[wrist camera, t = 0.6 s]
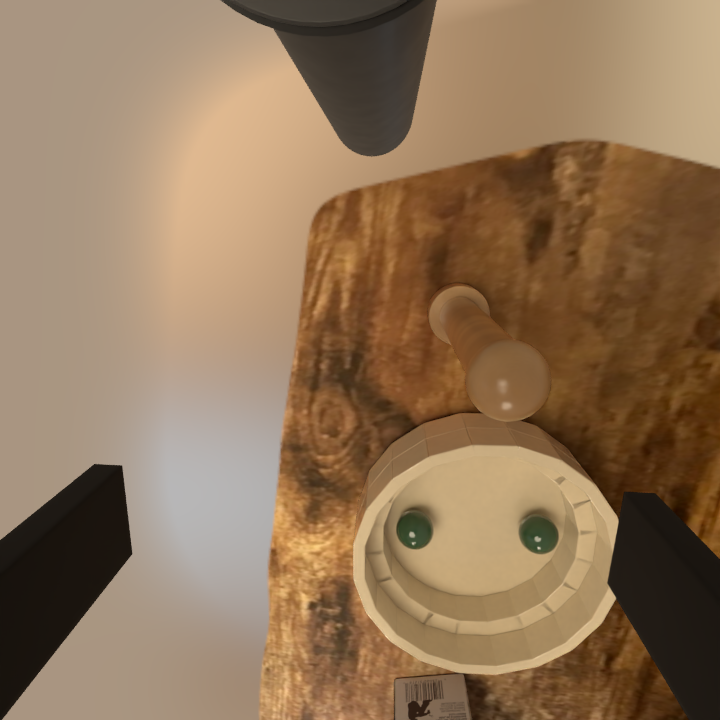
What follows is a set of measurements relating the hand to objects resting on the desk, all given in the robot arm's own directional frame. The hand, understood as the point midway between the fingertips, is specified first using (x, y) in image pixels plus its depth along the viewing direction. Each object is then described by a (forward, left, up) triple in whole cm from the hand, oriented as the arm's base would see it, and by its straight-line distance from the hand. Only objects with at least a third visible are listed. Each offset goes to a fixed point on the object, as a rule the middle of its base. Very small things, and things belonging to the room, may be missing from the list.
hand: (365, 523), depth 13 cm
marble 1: (+14, +3, -21) cm, 25 cm away
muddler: (-2, +5, -23) cm, 23 cm away
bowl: (+14, +7, -23) cm, 28 cm away
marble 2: (+14, +12, -21) cm, 28 cm away
